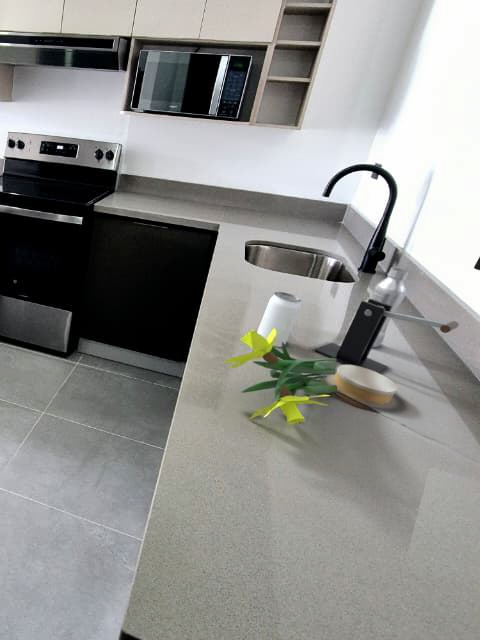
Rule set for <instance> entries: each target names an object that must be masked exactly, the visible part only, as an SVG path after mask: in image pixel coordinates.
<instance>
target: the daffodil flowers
mask: <svg viewBox="0 0 480 640" xmlns="http://www.w3.org/2000/svg"><path fill="white" fill-rule="evenodd" d="M291 319H292V318H291ZM291 319H290V320H291ZM288 323H289V322H288ZM288 323H287V324H288ZM285 328H286V327H285ZM282 332H283V331H282ZM282 332H281V333H282ZM281 333H280V334H281ZM280 334H279V335H278V336H277V337H276V338H275V339H274V340H273V338H274V337H275V335H276V330H275V328H274V329H273V330H272V332H271V333H270V335H269V337H268V338H267V340H266V339H265V338H264V337H263V336H261V335H260V334H258V333H257V331H256V330H255V329H254V328H251V329H250V331H247V333H245V334H244V335H243V336H242V337H241V338H240V339H239V340H240V342H242V343H244V344H245V345H246V346H248V347H249V348H251V349H252V350H253V351H251V352H248V353H245V354H241V355H239V356H235V357H232V358H228V359H226V360H224V361H222V363H228V364H233V365H232V366H229V367H228V368H226V369H225V371H227V370H230V369H234V368H239V367H241V366H243V365H244V364H246V363H248V362H249V361H252V360H253V361H252V363H253V364H256V365H258V366H261V367H263V368H265V369H269V375H270V377H271V378H272V380H265V381H261V382H258V383H256V384H252V385H251V386H249V387H247V388H245V389H243V390H242V391H240V393H242V394H245V393H246V394H247V393H252V392H258V391H263V390H270V389H274V392H273V400H275V401H274V402H273V403H272V404H270V405H268V406H265V407H263V408H260V409H259V410H256V411H255V412H253V414H252V415H251V417H249V420H251V419H254V418H256V417H258V416H262V415H263V414H265V413H266V414H265V415H264V416H263V418H265V417H267V416H268V415H270V413H271V412H272V411H273V410H275V409H277V408H280V410H281V411H282V413H283V415H284V416H285V417H286V424H287V425H291V426H292V425H296V424H302V423H303V422H305V421H306V419H305V417H304V416H303V415H302V413H301V412H300V411H299V406H298V405H305V404H310V405H313V404H314V405H315V404H316V405H320V406H327V407H328V406H329V404H326V403H323V402H320V401H316V400H311V399H310V398H321V397H330V396H332V397H333V396H334V395H332V394H331V392H338V388H337V386H336V385H334V384H328V383H327V382H326V381H325V380H321V379H327V378H328V376H327V375H334V376H335V374H336V372H337V368H338V364H337V363H338V362H337V361H336V360H337V359H335V358H328V357H320V358H309V359H297V358H294V357H292V356H290V354H289V352H288V349H287V347H286V344H284V343H283V342H282V347H281V351H280V350H278V349H277V348H276V347H275V346H273V345H274V343H275V341H276V340H277V338H278V337H279V336H280ZM272 340H273V341H272ZM255 359H263V361H259V360H256V361H255ZM331 361H333V362H331ZM299 390H301V391H302V390H303V391H304V394H305V396H297V395H296V394H297V391H299ZM317 394H319V395H317ZM328 394H331V395H328ZM306 395H312V396H306Z"/></svg>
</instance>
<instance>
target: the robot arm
mask: <svg viewBox="0 0 480 640" xmlns="http://www.w3.org/2000/svg"><path fill="white" fill-rule="evenodd" d="M473 269H474V270H477V271H480V256H479V257H478V259H477V260H476V262H475V264H474V266H473Z"/></svg>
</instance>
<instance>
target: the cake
mask: <svg viewBox="0 0 480 640" xmlns="http://www.w3.org/2000/svg"><path fill="white" fill-rule="evenodd" d="M332 385H336V386H337V390H339V391H340V392H339V391H337V392H331V393H330V394H331V395H333V396H334V397H335V398H338V399H339V400H341V401H343V402H344V403H347V404H349V405H351V406H354V407H356V408H358V409H361V410H365V411H367V412H372V413H376V414H381V411H378V410H376V409H374V408H372V407H370V406H368V405H366V404H364V403H368V404H372V405H378V406H385V405H388V404H389V403H390V402H391V400H392V399H393V396H394V395H395V394H396V393H397V391H398V386H397V385H396V383H395V382H394V381H393V380H391V379H390V378H388V377H386V376H385V375H383V374H381V373H380V372H379V373H377V372H375V371H372V370H369V369H366V368H363V367H359V366H354V365H344V364H340V365H338V366H337V368H336V373H335V375H334V377H333V378H332ZM360 401H361V402H360ZM363 402H364V403H363Z"/></svg>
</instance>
